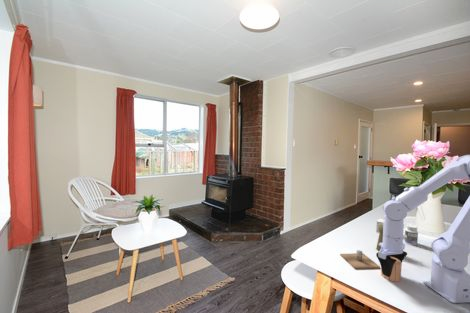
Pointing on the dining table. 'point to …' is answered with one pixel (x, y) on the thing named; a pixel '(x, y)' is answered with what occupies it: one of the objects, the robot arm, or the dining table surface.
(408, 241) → the pill bottle
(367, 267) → the plate
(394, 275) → the wooden slatted pot
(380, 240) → the olive flared column
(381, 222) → the white beige cube
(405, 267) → the dining table surface
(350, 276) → the dining table surface
